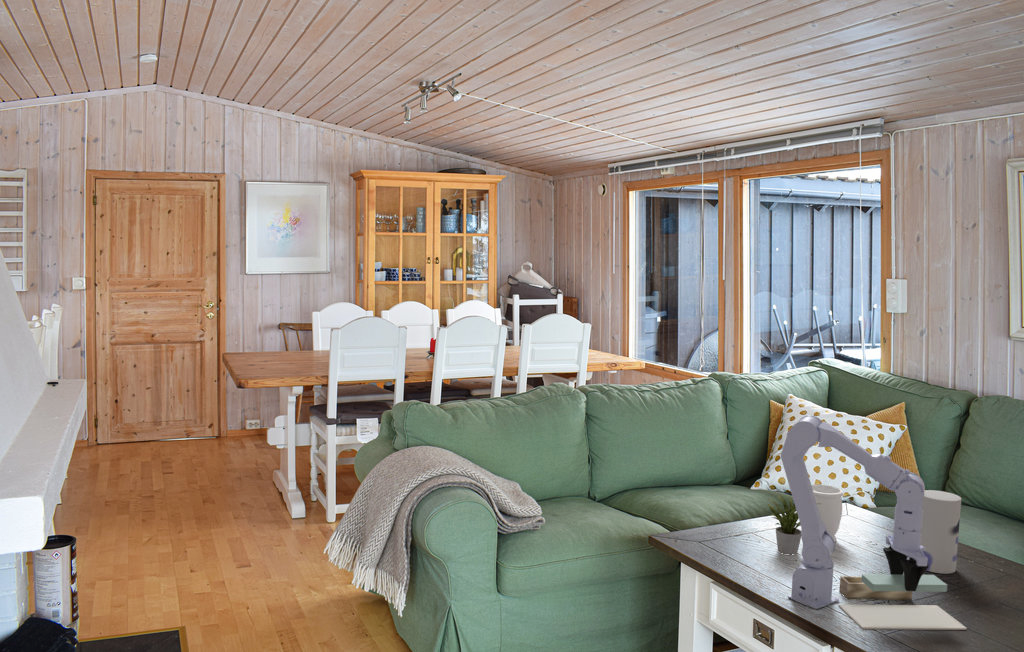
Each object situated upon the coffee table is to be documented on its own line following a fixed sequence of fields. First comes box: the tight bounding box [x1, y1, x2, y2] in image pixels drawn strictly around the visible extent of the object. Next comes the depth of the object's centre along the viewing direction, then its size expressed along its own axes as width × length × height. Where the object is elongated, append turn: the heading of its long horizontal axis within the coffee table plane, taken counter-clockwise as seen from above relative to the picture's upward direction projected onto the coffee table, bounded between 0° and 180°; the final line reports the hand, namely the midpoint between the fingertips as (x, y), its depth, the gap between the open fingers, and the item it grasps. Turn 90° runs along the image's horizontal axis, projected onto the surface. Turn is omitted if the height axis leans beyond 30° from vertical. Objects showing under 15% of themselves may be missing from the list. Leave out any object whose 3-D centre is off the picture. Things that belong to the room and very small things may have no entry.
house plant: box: [766, 494, 819, 556], centre depth 231 cm, size 14×14×16 cm
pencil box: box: [839, 575, 913, 601], centre depth 203 cm, size 16×4×4 cm, turn 93°
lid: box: [861, 573, 948, 593], centre depth 190 cm, size 17×6×2 cm, turn 93°
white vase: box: [811, 484, 844, 542], centre depth 243 cm, size 11×10×15 cm
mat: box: [838, 603, 968, 631], centre depth 191 cm, size 24×12×1 cm, turn 93°
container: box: [920, 489, 962, 574], centre depth 223 cm, size 10×10×20 cm
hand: (903, 585), depth 190 cm, fingers closed on lid, 6 cm apart
